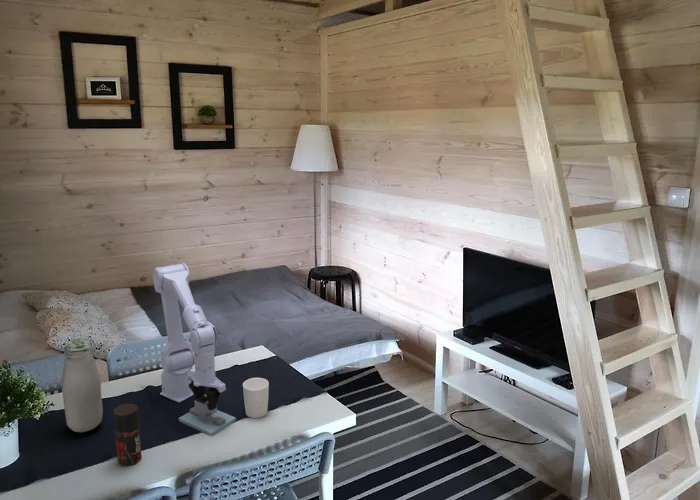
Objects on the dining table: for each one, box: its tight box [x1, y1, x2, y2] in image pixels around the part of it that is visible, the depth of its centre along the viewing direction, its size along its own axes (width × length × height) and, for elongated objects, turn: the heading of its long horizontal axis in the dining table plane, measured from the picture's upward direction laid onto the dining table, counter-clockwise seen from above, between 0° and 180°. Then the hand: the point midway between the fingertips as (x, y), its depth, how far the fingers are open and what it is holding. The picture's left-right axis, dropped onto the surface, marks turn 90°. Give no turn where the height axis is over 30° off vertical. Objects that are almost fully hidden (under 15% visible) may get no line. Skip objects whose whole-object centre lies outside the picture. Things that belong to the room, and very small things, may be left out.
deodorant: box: [112, 403, 143, 467], centre depth 147 cm, size 6×6×15 cm
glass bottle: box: [61, 337, 104, 433], centre depth 159 cm, size 10×10×28 cm
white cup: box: [242, 377, 270, 419], centre depth 171 cm, size 8×8×10 cm
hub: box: [193, 394, 218, 418], centre depth 166 cm, size 5×5×4 cm
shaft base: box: [178, 406, 237, 437], centre depth 167 cm, size 14×10×5 cm
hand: (206, 406), depth 166 cm, fingers closed on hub, 5 cm apart
